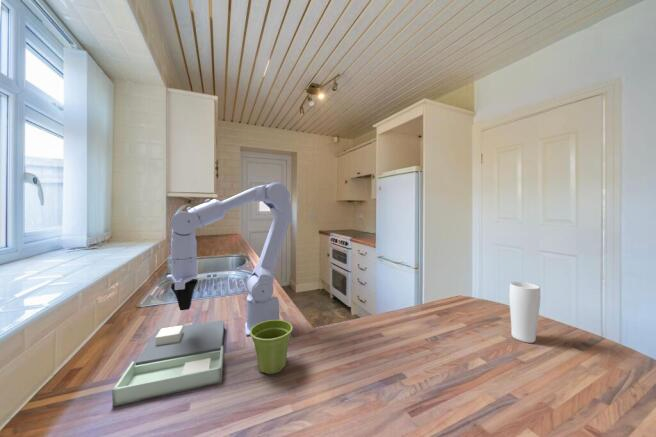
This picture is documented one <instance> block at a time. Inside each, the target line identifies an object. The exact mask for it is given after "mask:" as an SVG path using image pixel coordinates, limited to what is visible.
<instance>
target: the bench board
mask: <svg viewBox="0 0 656 437" xmlns="http://www.w3.org/2000/svg"><path fill="white" fill-rule="evenodd" d="M160 330H161V328H159V329H157V330H156V331H155V332H154V334H153V336H152V337H151V338H150V340H149V341H148V343H147V344H146V346H145V348H144V349H143V350H142V352H141V354H140V355H139V357H138V358H137V360H136V361H135V366H136V365H142V364H147V363H153V362H158V361H164V360H170V359H175V358H181V357H186V356H192V355H197V354H203V353H208V352H214V351H219V350H221V346H224V344H223V343H224V335H225V334H224V332H225V320H224V319H222V320H215V321H208V322H201V323H195V324H194V323H193V324H186V325H183V334H182V336H181V339H180V341H179V342H175V343H169V344H162V345H156V339H155V337H156V336H157V334H158V333H159V331H160Z"/></svg>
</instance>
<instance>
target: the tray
mask: <svg viewBox="0 0 656 437" xmlns="http://www.w3.org/2000/svg"><path fill="white" fill-rule="evenodd" d="M208 358H211V369H207V370H202V371H197V372H192V373H187V374H182V371H183V368H184V365H185V363H187V362H192V361H197V360H203V359H208ZM223 365H224V345H222V346H221V350H219V351H214V352H208V353H203V354H197V355H192V356H186V357H181V358H175V359H170V360H164V361H158V362H153V363H147V364H142V365H136V361H135V360H134V361H131V362H130V364H129V366H128V367H127V368H126V370H125V371H124V372H123V374H122V376H121V377H120V378H119V380H118V381H117V383H116V384H115V386H114V387H113V389H111V390H112V392H111V394H112V407H116V406H120V405H121V406H122V405H126V404H130V403H135V402H138V401H143V400H147V399H153V398H157V397H162V396H165V395H170V394H175V393H180V392H184V391H185V392H186V391H188V390H193V389H198V388H201V387H202V388H203V387H207V386H212V385H216V384H221V383H222V380H223V379H222V378H223V367H224V366H223ZM181 374H182V375H181Z"/></svg>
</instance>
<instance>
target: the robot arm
mask: <svg viewBox="0 0 656 437" xmlns="http://www.w3.org/2000/svg"><path fill="white" fill-rule="evenodd" d="M290 198H291V193H290V191H289V190H288V189H287V187H286V186H285V184H283V183H282V182H279V181H275V182H271V183H269V184H263V185H262V184H261V185H259V186H255V187H251V188H249V189H247V190H245V191H242V192H240V193H238V194H236V195H234V196H231V197H229V198H226V199H224V200H221V201H220V200H218V199H215V198H213V199H210V198H207V199H205V200H204V203H201V204H198V205H196V206H194V207H191V206H188V207H186V211H179V212H178V213H176V214H174V215H173V216H172V218H171V220H170V228H171V229H172V233H171V239H172V240H171V242H170V243H171V274H168V275H166V280H171V281H173V283H172V284H171V285H170V288H171V291H173V292H172V293H174V295H175V298H176V300H177V303H178V304H177V305H178V307H179V311H188V310H190V309H191V305H192V299H193V294H194V291H195V288H196V286H197V283H198V278H197V277H199V273H198V253H197V252H198V249H197V248H198V246H197V242H198V241H197V239H196V230H197V228H203V227H206V226H208V225H211V224H214V223H215V222H217V221H220V220H222V219H224V218H225V216H226V213H227V212H228V211H231V210H233V209H236V208H238V207H241V206H244V205H245V204H248V203H251V202H259V203H260V202H263V204H264V205H266V206H267V207H268V208H269V210H270V212H271V213H272V215H273V219H272V222H271V224H270V227H269V231H268V233H267V236H266V239H265V242H264V244H263V247H262V250H261V254H260V256H259V259H258V262H257V265H256V266H254V268H253V270H252V273H251V274H250V275H249V276H248V278H247V279H246V281H245V289H246V290H247V292H249V293H248V295H247V297H246V322H245V323H244V325H245V326H244V328H245V336H251V335H250V330H251V328H252V327H253V326H255V325H256V324H258V323H261V322H264V321H268V320H280V302H279V297H278V296H273V295H274V294H273V293H274V281H275V267H276V265H277V262H278V259H279V255H280V252H281V250H282V246H283V244H284V240H285V237H286V234H287V232H288V228H289V226H290V223H291V219H292V217H293V212H292V206H291V199H290Z"/></svg>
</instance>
